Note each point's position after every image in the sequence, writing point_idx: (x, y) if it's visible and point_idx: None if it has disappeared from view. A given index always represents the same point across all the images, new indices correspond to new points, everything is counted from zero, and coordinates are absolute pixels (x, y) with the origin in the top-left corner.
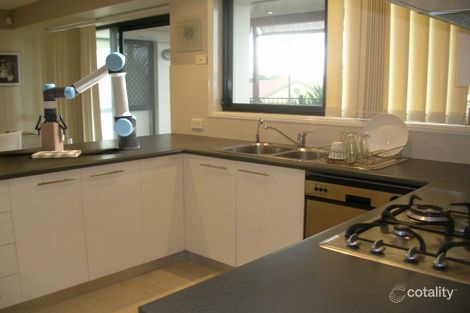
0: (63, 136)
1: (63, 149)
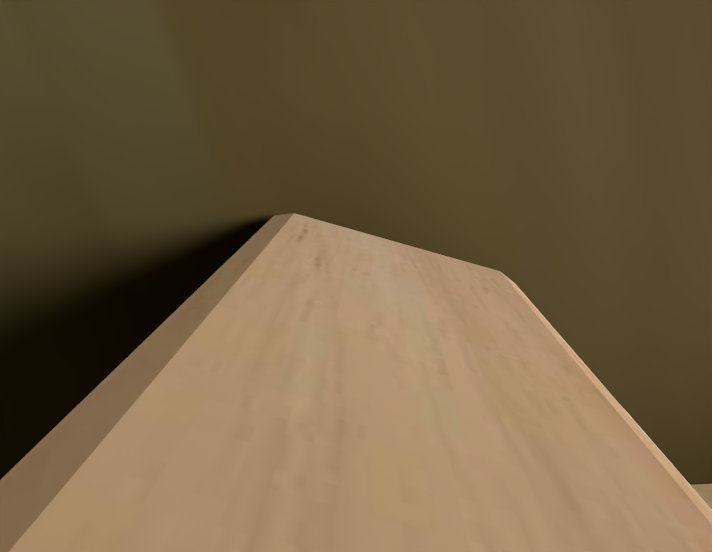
0: None
1: (518, 288)
